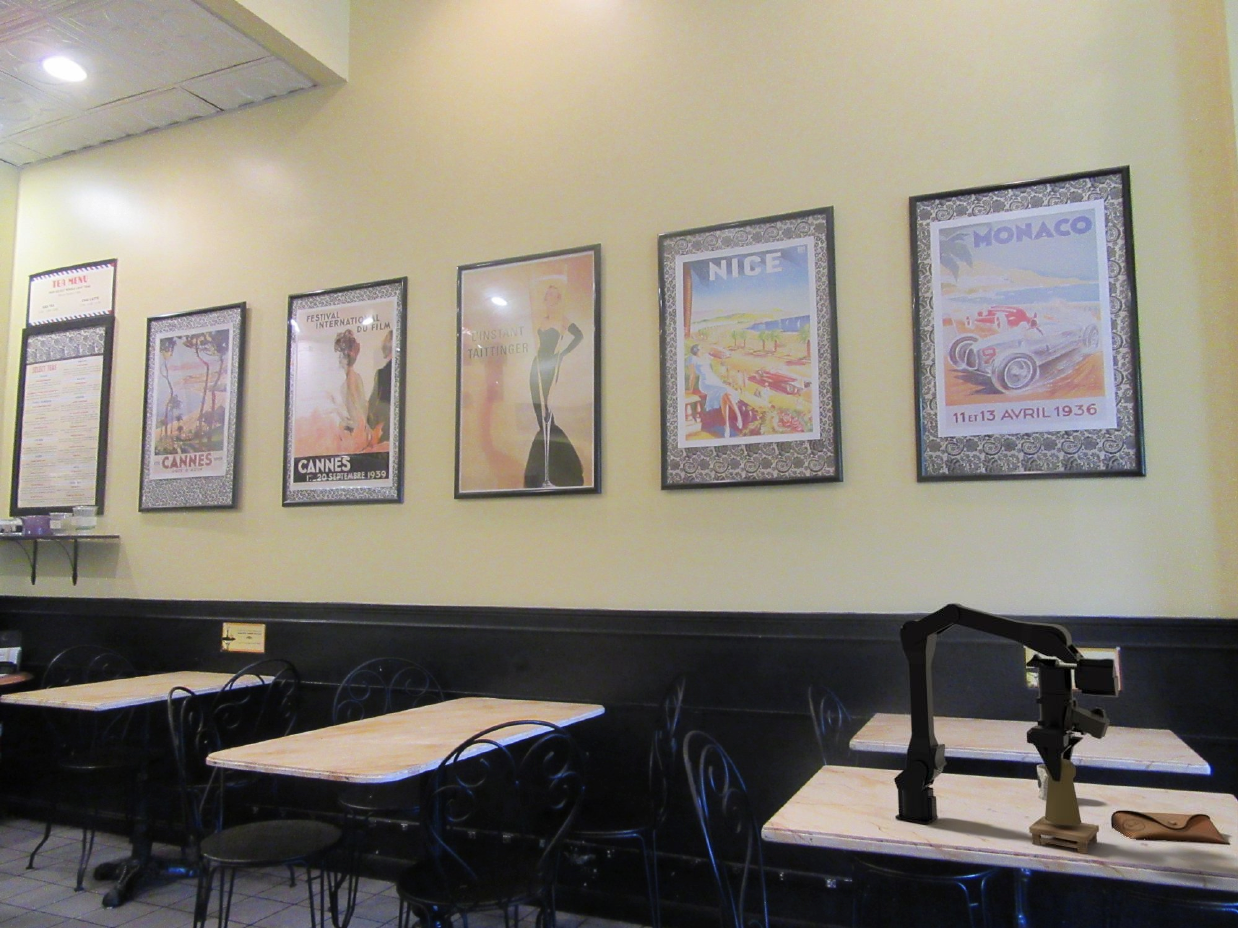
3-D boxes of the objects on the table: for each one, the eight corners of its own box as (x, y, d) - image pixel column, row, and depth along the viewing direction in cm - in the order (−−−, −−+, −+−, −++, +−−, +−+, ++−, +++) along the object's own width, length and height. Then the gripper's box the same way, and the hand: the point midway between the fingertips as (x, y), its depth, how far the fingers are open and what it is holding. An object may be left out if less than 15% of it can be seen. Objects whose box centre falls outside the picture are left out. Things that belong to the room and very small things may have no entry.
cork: (1086, 826, 157) (1082, 763, 158) (1050, 824, 158) (1046, 761, 159) (1075, 816, 163) (1072, 756, 164) (1041, 814, 164) (1037, 754, 165)
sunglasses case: (1129, 839, 161) (1119, 802, 165) (1117, 849, 167) (1107, 814, 171) (1234, 844, 159) (1222, 806, 163) (1219, 854, 164) (1207, 817, 168)
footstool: (1030, 843, 159) (1029, 826, 159) (1044, 832, 166) (1043, 815, 167) (1087, 854, 153) (1086, 836, 153) (1099, 842, 160) (1098, 825, 161)
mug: (1044, 793, 196) (1042, 762, 197) (1076, 798, 191) (1074, 767, 192) (1028, 801, 189) (1026, 769, 190) (1061, 807, 184) (1059, 774, 185)
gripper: (1091, 702, 151) (1097, 795, 149) (1114, 691, 165) (1120, 776, 163) (1023, 696, 158) (1028, 784, 156) (1051, 686, 172) (1055, 767, 170)
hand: (1060, 778), depth 161 cm, fingers closed on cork, 5 cm apart
